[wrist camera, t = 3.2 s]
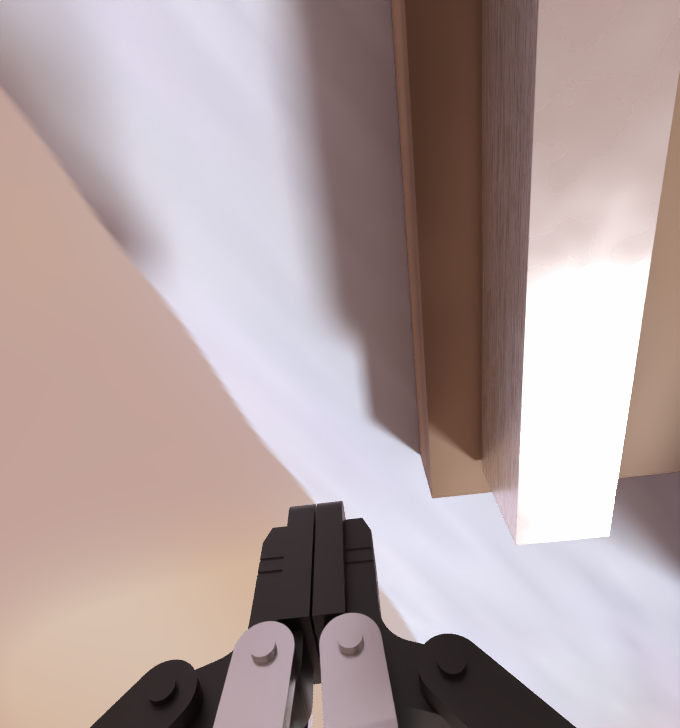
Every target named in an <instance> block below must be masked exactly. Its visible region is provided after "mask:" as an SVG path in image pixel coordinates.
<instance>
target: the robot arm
mask: <svg viewBox="0 0 680 728" xmlns="http://www.w3.org/2000/svg"><path fill="white" fill-rule="evenodd" d="M260 560H261V561H260V564H259V570H258V576H257V581H256V588H255V593H254V599H253V605H252V611H251V616H250V623H249V627H248V630H247V631H245V632H244V633H243V634H242V636H241V637H240V638H239V640H238V641H237V643H236V645H235V648H234V650H233V651H232V652H231V653H229V654H228V655H227V656H225V657H224V658H221V659H219V660H217V661H215V662H213V663H210V664H208V665H206V666H204V667H201V668H199V669H196V670H194V668H193V667H192V666H191V664H189V663H187V662H186V661H183V660H170V661H166V662H163V663H161V664H159V665H157V666H155V667H154V668H152V669H151V670H150V671H148V672H147V673H146V674H145V675H144V676H143V677H142V678H141V679H140V680H139V681H138V682H137V683H136V684H135V685H134V686H133V687H131V689H130V690H128V691H127V692H126V693H125V694H124V695H123V696H122V697H121V698H120V699H119V700H118V701H117V702H116V703H115V704H114V705H113V706H112V707H111V708H110V709H109V710H108V711H107V712H106V713H105V714H104V715H103V716H102V717H101V718H100V719H98V720H97V721H96V722H95V723H94V724H93V725H92V726H91V727H90V728H312V727H313V713H312V702H313V701H312V700H313V684H319V683H321V684H322V701H323V720H324V728H576V727H575V726H573V725H572V724H571V723H570V722H569V721H567V720H566V719H565V718H564V717H563V716H561V715H560V714H559V713H558V712H556V711H555V710H554V709H553V708H552V707H550V706H549V705H548V704H547V703H546V702H544V701H543V700H542V699H541V698H539V697H538V696H537V695H536V694H535V693H533V692H532V691H531V690H530V689H528V688H527V687H526V686H525V685H524V684H522V683H521V682H520V681H519V680H518V679H516V678H515V677H514V676H513V675H511V674H510V673H509V672H508V671H507V670H505V669H504V668H503V667H502V666H501V665H499V664H498V663H497V662H496V661H494V660H493V659H492V658H491V657H490V656H488V655H487V654H486V653H485V652H484V651H482V650H481V649H480V648H479V647H477V646H476V645H475V644H474V643H473V642H471V641H470V640H468V639H466V638H464V637H462V636H459V635H456V634H440V635H437V636H435V637H433V638H431V639H429V640H428V641H427V642H426V643H425V644H421V643H416V642H412V641H408V640H405V639H402V638H400V637H398V636H396V635H395V634H393V633H392V632H391V631H390V630H389V629H388V628H387V627H386V626H385V624H384V623H383V621H382V618H381V610H380V600H379V590H378V581H377V571H376V563H375V556H374V548H373V540H372V533H371V530H370V528H369V527H368V525H367V524H366V523H365V521H364V520H363V518H357V519H348V520H346V519H345V512H344V506H343V502H342V501H338V502H329V503H320V504H317V507H316V504H312V505H304V506H295V507H290V509H289V516H288V524H287V526H286V527H277V528H273V529H272V530H271V532H270V533H269V535H268V536H267V538H266V539H265V541H264V542H263V546H262V552H261V558H260Z"/></svg>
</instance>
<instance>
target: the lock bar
mask: <svg viewBox="0 0 680 728" xmlns="http://www.w3.org/2000/svg"><path fill="white" fill-rule="evenodd" d="M679 72H680V0H482V471H483V473H484V475H485V477H486V480H487V482H488V484H489V486H490V489H491V491H492V493H493V495H494V497H495V500H496V502H497V504H498V506H499V509H500V511H501V513H502V515H503V518H504V520H505V522H506V524H507V526H508V529H509V531H510V533H511V535H512V538H513V540H514V542H515V544H516V545H524V544H534V543H544V542H554V541H564V540H573V539H583V538H593V537H603V536H609V533H610V526H611V519H612V513H613V506H614V500H615V493H616V486H617V480H618V473H619V467H620V460H621V454H622V447H623V440H624V434H625V427H626V421H627V414H628V407H629V401H630V394H631V388H632V381H633V375H634V368H635V361H636V355H637V348H638V342H639V335H640V328H641V322H642V315H643V309H644V302H645V296H646V289H647V282H648V276H649V269H650V263H651V256H652V249H653V243H654V236H655V230H656V223H657V216H658V210H659V203H660V197H661V190H662V184H663V177H664V170H665V164H666V157H667V151H668V144H669V137H670V131H671V124H672V118H673V111H674V105H675V98H676V91H677V85H678V78H679Z"/></svg>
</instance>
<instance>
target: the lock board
mask: <svg viewBox="0 0 680 728" xmlns="http://www.w3.org/2000/svg"><path fill="white" fill-rule="evenodd" d="M391 11H392V26H393V42H394V57H395V72H396V88H397V103H398V118H399V133H400V149H401V164H402V179H403V195H404V210H405V225H406V241H407V256H408V271H409V286H410V302H411V317H412V332H413V348H414V363H415V378H416V394H417V409H418V424H419V440H420V455H421V459H422V463H423V466H424V470H425V474H426V477H427V481H428V485H429V488H430V492H431V496H432V498H440V497H449V496H458V495H468V494H477V493H486V492H492V491H491V489H490V486H489V484H488V482H487V480H486V477H485V475H484V473H483V471H482V0H391ZM673 472H680V72H679V78H678V85H677V91H676V98H675V105H674V111H673V118H672V124H671V131H670V137H669V144H668V151H667V157H666V164H665V170H664V177H663V184H662V190H661V197H660V203H659V210H658V216H657V223H656V230H655V236H654V243H653V249H652V256H651V263H650V269H649V276H648V282H647V289H646V296H645V302H644V309H643V315H642V322H641V328H640V335H639V342H638V348H637V355H636V361H635V368H634V375H633V381H632V388H631V394H630V401H629V407H628V414H627V421H626V427H625V434H624V440H623V447H622V454H621V460H620V467H619V473H618V478H627V477H636V476H645V475H655V474H664V473H673Z"/></svg>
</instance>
